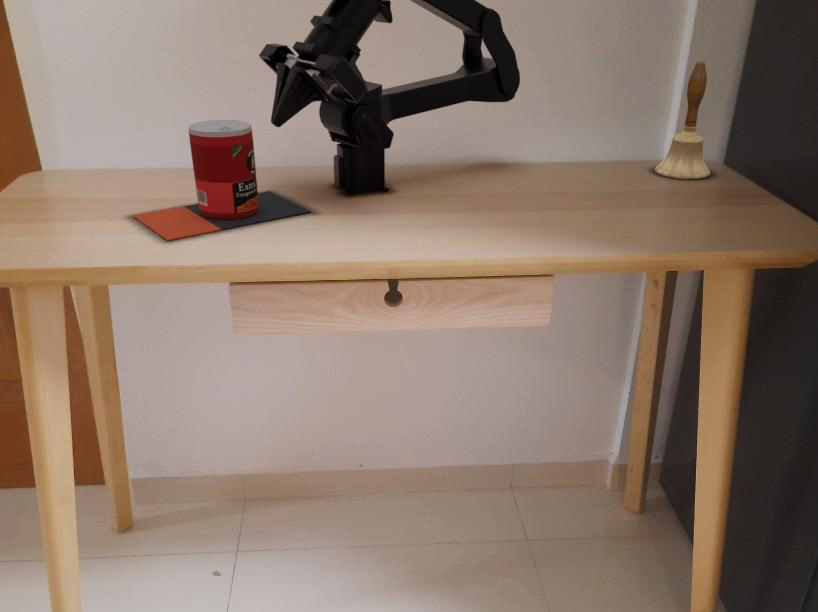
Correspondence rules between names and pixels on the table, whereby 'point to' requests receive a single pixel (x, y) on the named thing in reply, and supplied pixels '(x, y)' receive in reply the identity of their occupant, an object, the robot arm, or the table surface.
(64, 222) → the table surface
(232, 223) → the mat
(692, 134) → the hand bell
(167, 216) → the pad
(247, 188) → the canned food
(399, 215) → the table surface
